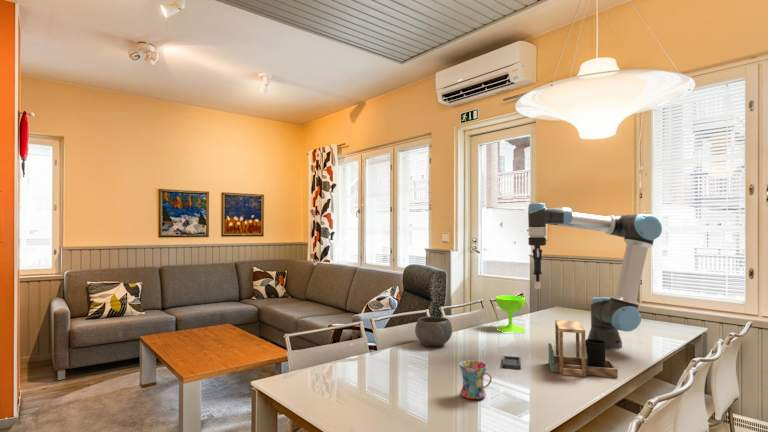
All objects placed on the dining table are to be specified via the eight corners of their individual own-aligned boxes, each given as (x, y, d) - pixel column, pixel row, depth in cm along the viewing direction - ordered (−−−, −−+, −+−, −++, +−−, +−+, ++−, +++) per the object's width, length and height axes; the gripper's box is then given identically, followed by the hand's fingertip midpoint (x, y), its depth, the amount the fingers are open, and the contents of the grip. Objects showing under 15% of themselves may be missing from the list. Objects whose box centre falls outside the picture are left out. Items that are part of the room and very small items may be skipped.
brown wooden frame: (579, 364, 179) (578, 321, 180) (585, 377, 164) (585, 330, 164) (555, 362, 182) (555, 320, 182) (559, 374, 166) (559, 328, 167)
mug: (453, 395, 146) (453, 364, 146) (470, 388, 152) (470, 358, 152) (482, 406, 136) (482, 373, 137) (499, 399, 142) (499, 367, 143)
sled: (610, 367, 174) (610, 347, 174) (617, 377, 162) (617, 356, 163) (548, 362, 181) (548, 343, 181) (551, 371, 169) (551, 351, 169)
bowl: (410, 347, 204) (410, 320, 204) (421, 338, 220) (421, 313, 221) (447, 351, 197) (447, 324, 197) (455, 342, 214) (455, 316, 214)
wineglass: (494, 326, 248) (493, 295, 248) (522, 327, 245) (522, 295, 246) (497, 333, 232) (497, 299, 232) (528, 334, 230) (527, 300, 230)
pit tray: (520, 360, 184) (520, 357, 184) (520, 369, 172) (520, 365, 172) (503, 359, 186) (503, 355, 186) (502, 367, 174) (502, 364, 174)
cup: (606, 370, 172) (606, 339, 172) (608, 376, 165) (607, 344, 165) (585, 367, 175) (584, 338, 175) (586, 373, 168) (585, 342, 168)
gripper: (527, 236, 203) (528, 286, 202) (529, 237, 190) (529, 290, 190) (544, 236, 201) (545, 287, 200) (547, 237, 188) (547, 290, 188)
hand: (537, 288), depth 195 cm, fingers closed
